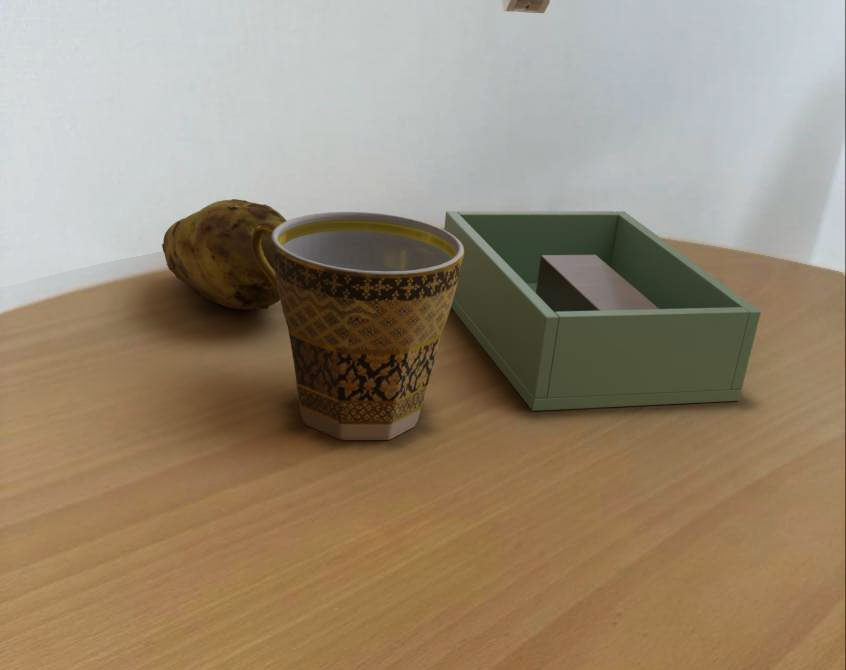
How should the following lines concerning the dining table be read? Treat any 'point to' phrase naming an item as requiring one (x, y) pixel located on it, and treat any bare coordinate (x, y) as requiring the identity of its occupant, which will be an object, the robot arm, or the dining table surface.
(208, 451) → the dining table surface
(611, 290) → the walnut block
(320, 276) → the ceramic cup
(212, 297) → the potato
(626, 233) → the bin
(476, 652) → the dining table surface
